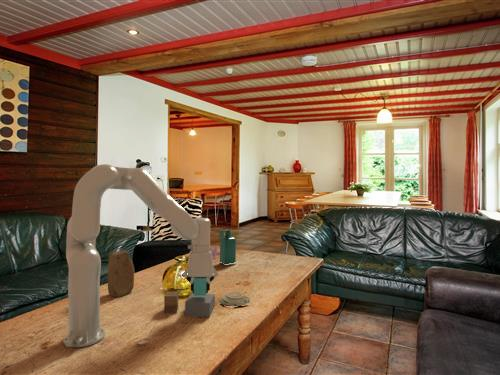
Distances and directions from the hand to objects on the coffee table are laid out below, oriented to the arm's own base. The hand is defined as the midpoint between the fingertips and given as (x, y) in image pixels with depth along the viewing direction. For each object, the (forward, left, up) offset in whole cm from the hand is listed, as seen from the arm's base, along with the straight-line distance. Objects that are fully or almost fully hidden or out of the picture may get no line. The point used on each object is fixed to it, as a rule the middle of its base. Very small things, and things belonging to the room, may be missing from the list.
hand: (200, 291), depth 135 cm
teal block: (0, 0, -1) cm, 1 cm away
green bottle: (+73, -13, -9) cm, 75 cm away
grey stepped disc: (+10, -15, -9) cm, 20 cm away
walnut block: (+2, +12, -8) cm, 15 cm away
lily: (+83, -3, -9) cm, 83 cm away
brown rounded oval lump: (+23, +38, -9) cm, 45 cm away
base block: (0, 0, -9) cm, 9 cm away
